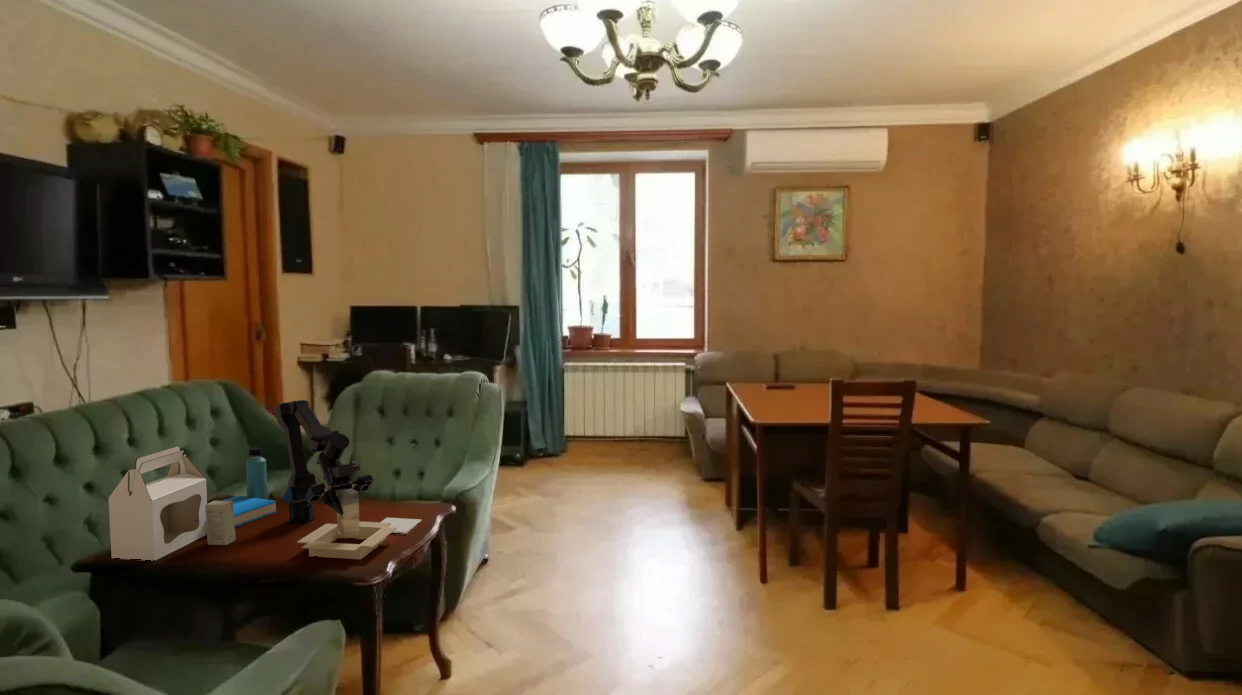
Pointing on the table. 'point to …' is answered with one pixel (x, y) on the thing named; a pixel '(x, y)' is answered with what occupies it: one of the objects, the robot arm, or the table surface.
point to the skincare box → (220, 522)
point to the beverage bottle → (256, 475)
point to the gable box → (157, 508)
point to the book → (249, 509)
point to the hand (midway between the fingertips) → (350, 512)
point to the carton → (328, 533)
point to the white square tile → (401, 524)
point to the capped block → (348, 513)
